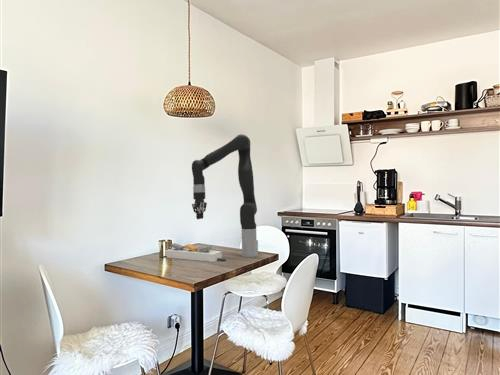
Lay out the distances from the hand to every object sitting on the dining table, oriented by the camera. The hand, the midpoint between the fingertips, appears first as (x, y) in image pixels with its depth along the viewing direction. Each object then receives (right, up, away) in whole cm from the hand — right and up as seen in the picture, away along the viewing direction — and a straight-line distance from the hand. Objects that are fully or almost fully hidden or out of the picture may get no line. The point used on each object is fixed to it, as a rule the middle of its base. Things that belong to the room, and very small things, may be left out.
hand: (199, 218), depth 230 cm
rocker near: (+5, -18, -12) cm, 22 cm away
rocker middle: (-4, -18, -7) cm, 20 cm away
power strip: (-2, -23, -8) cm, 25 cm away
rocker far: (-14, -18, -3) cm, 23 cm away
